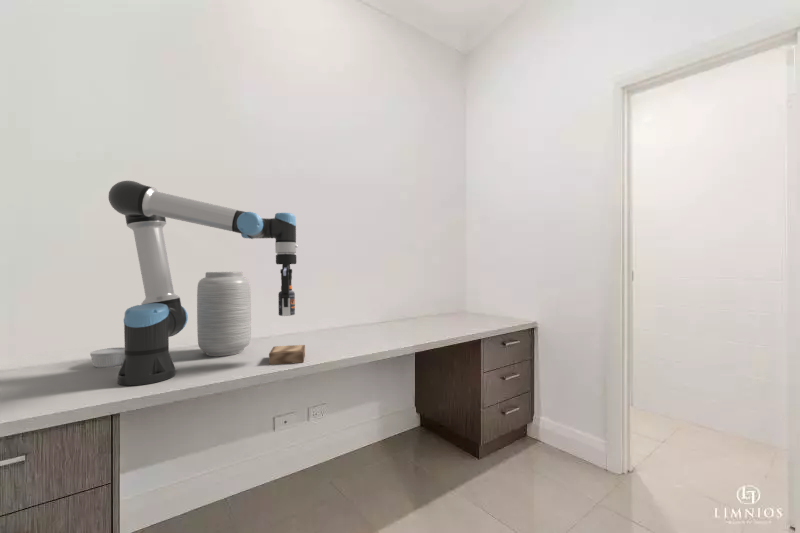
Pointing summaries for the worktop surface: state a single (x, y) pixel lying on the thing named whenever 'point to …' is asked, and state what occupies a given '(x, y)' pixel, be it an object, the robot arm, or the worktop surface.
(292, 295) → the pill bottle
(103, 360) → the ramekin
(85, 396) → the worktop surface
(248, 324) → the vase
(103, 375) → the worktop surface
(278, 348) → the plinth
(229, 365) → the worktop surface
